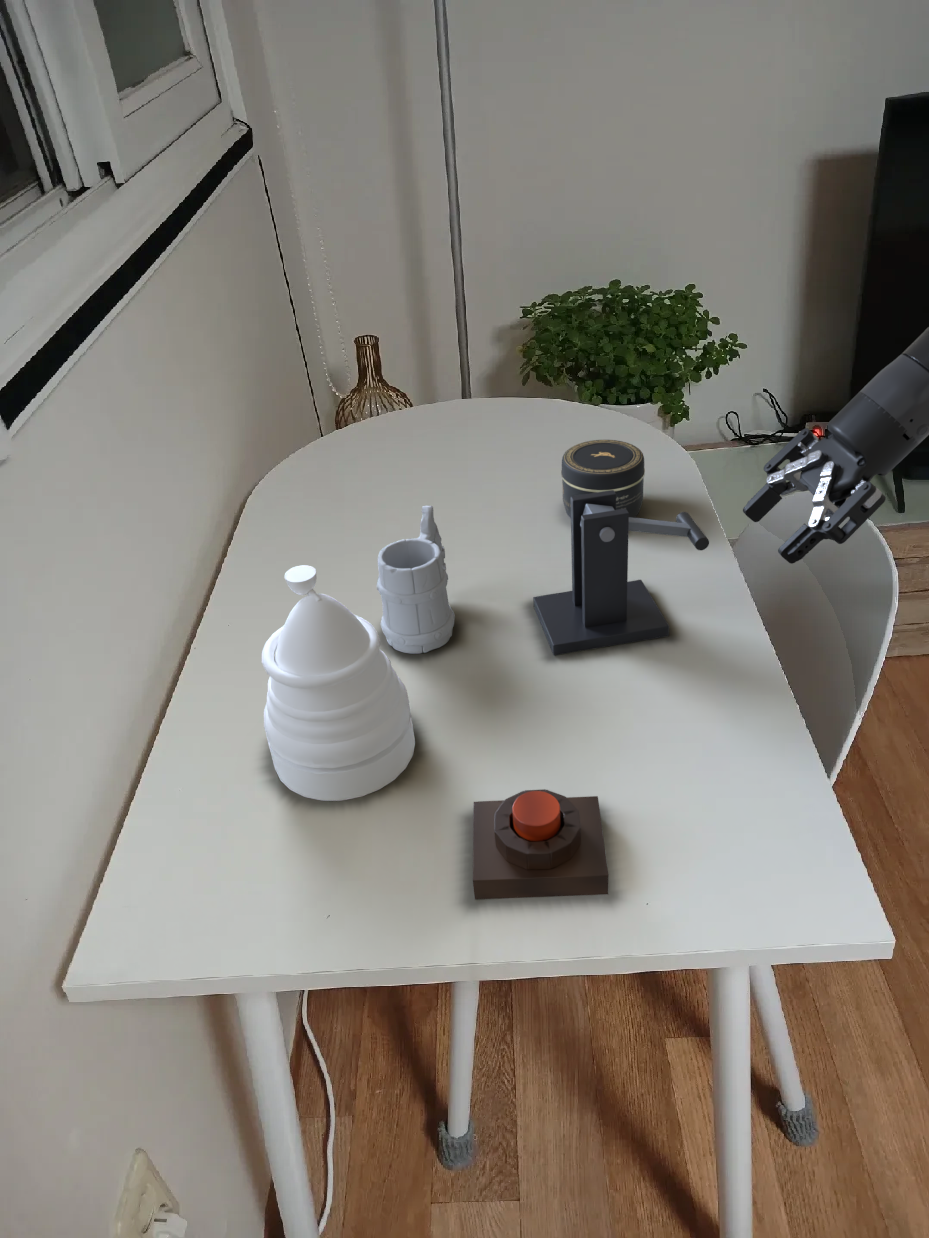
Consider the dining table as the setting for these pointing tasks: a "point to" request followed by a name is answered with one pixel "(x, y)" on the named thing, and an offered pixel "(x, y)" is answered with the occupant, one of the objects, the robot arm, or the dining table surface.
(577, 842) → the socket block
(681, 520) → the switch lever
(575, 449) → the jar
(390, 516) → the dining table surface
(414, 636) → the mug
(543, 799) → the button
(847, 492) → the robot arm
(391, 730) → the honey pot
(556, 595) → the dark stand
